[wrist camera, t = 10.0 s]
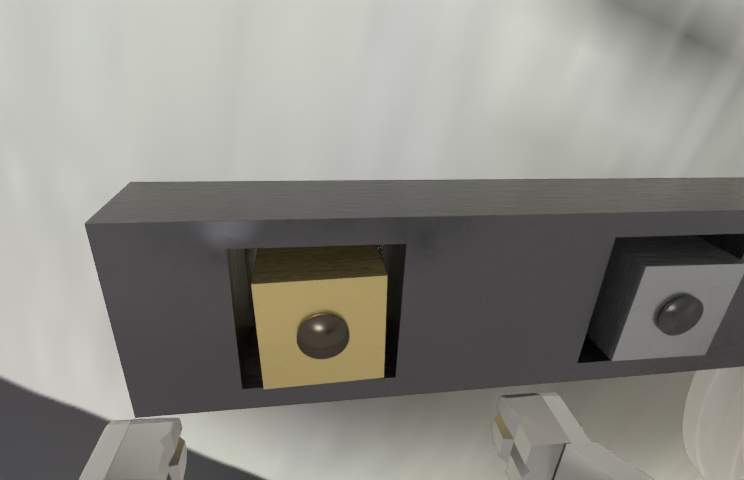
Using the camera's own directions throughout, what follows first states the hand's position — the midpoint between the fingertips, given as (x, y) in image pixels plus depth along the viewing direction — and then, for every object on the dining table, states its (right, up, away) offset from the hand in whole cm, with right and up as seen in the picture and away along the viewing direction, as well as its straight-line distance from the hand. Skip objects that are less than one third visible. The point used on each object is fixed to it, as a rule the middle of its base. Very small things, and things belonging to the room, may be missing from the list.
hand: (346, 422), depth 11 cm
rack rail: (+5, +4, +9) cm, 11 cm away
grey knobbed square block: (+12, +4, +11) cm, 16 cm away
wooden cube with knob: (-2, +4, +8) cm, 9 cm away
